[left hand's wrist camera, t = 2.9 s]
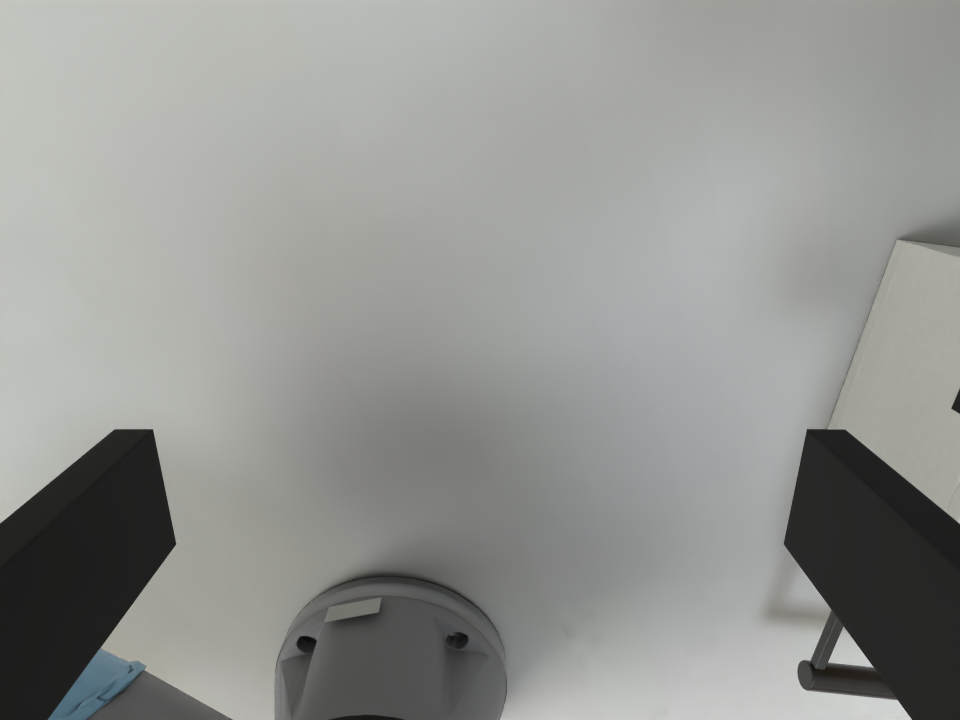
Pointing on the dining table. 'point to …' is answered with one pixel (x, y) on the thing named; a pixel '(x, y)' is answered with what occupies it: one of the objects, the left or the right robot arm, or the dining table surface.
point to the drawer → (839, 670)
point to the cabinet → (911, 372)
